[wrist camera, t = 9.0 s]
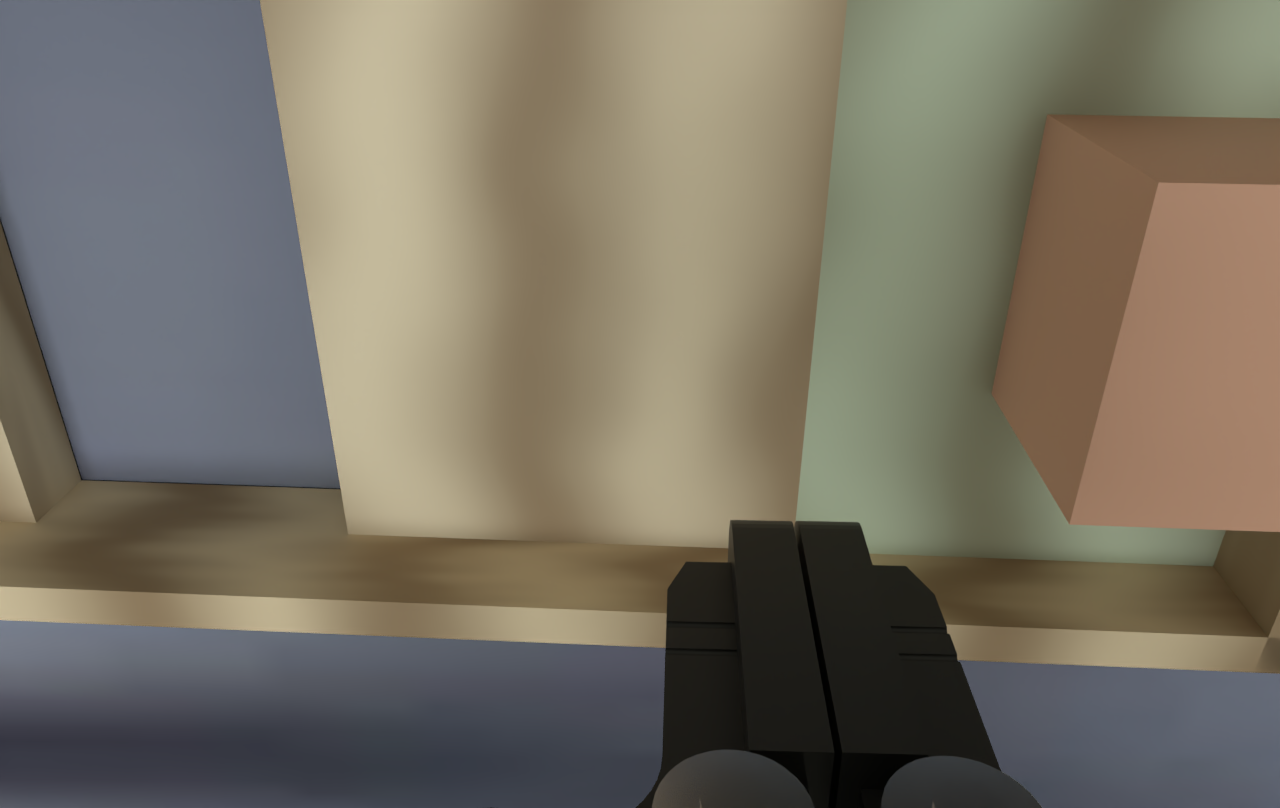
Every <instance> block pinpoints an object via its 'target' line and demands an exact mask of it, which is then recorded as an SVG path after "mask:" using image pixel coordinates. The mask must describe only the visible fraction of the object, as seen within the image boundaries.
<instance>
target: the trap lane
mask: <svg viewBox="0 0 1280 808" xmlns="http://www.w3.org/2000/svg"><path fill="white" fill-rule="evenodd" d="M260 4H261V10H262V16H263V22H264V28H265V34H266V40H267V46H268V52H269V58H270V64H271V71H272V77H273V83H274V89H275V95H276V101H277V107H278V113H279V119H280V125H281V131H282V137H283V143H284V149H285V155H286V161H287V167H288V173H289V179H290V185H291V192H292V198H293V204H294V210H295V216H296V222H297V228H298V234H299V240H300V246H301V252H302V258H303V264H304V270H305V276H306V282H307V288H308V294H309V300H310V306H311V313H312V319H313V325H314V331H315V337H316V343H317V349H318V355H319V361H320V367H321V373H322V379H323V385H324V391H325V397H326V403H327V409H328V415H329V421H330V427H331V434H332V440H333V446H334V452H335V458H336V464H337V470H338V476H339V482H340V488H341V489H316V488H288V487H259V486H231V485H202V484H174V483H145V482H117V481H88V480H81V478H80V475H79V471H78V468H77V465H76V462H75V459H74V455H73V452H72V449H71V446H70V443H69V440H68V436H67V433H66V430H65V427H64V424H63V420H62V417H61V414H60V411H59V408H58V404H57V401H56V398H55V395H54V392H53V388H52V385H51V382H50V379H49V376H48V373H47V369H46V366H45V363H44V360H43V357H42V353H41V350H40V347H39V344H38V341H37V337H36V334H35V331H34V328H33V325H32V322H31V318H30V315H29V312H28V309H27V306H26V302H25V299H24V296H23V293H22V290H21V286H20V283H19V280H18V277H17V274H16V270H15V267H14V264H13V261H12V258H11V255H10V251H9V248H8V245H7V242H6V239H5V235H4V232H3V229H2V226H1V223H0V620H13V621H37V622H61V623H85V624H109V625H133V626H157V627H181V628H204V629H228V630H252V631H276V632H300V633H324V634H348V635H372V636H396V637H419V638H443V639H467V640H491V641H515V642H539V643H563V644H587V645H611V646H634V647H658V648H666V618H667V589H668V587H669V586H670V584H671V583H672V581H673V580H674V578H675V577H676V575H677V574H678V573H679V571H680V570H681V568H682V567H683V565H684V564H685V562H728V543H729V526H730V520H765V521H792V522H793V526H794V525H795V522H796V521H830V522H859V523H860V525H861V527H862V530H863V534H864V537H865V541H866V544H867V547H868V551H869V554H870V558H871V561H872V564H873V565H889V566H907V567H908V568H909V569H910V570H911V571H912V572H913V573H914V574H915V575H916V576H917V577H918V578H919V579H920V580H921V581H922V582H923V583H924V584H925V585H926V586H927V587H928V588H929V589H930V590H931V591H932V592H933V593H934V594H935V596H936V599H937V602H938V604H939V607H940V610H941V612H942V615H943V618H944V620H945V623H946V626H947V634H950V636H951V639H952V642H953V644H954V647H955V650H956V652H957V660H969V661H993V662H1017V663H1041V664H1065V665H1088V666H1112V667H1136V668H1160V669H1184V670H1208V671H1232V672H1256V673H1280V532H1263V531H1235V530H1207V529H1179V528H1151V527H1122V526H1094V525H1069V523H1068V521H1067V520H1066V518H1065V516H1064V515H1063V513H1062V511H1061V510H1060V508H1059V506H1058V505H1057V503H1056V501H1055V500H1054V498H1053V496H1052V495H1051V493H1050V491H1049V490H1048V488H1047V486H1046V484H1045V483H1044V481H1043V479H1042V478H1041V476H1040V474H1039V473H1038V471H1037V469H1036V468H1035V466H1034V464H1033V463H1032V461H1031V459H1030V458H1029V456H1028V454H1027V453H1026V451H1025V449H1024V448H1023V446H1022V444H1021V443H1020V441H1019V439H1018V437H1017V436H1016V434H1015V432H1014V431H1013V429H1012V427H1011V426H1010V424H1009V422H1008V421H1007V419H1006V417H1005V416H1004V414H1003V412H1002V411H1001V409H1000V407H999V406H998V404H997V402H996V401H995V399H994V397H993V396H992V389H993V384H994V379H995V374H996V369H997V364H998V359H999V354H1000V349H1001V344H1002V339H1003V334H1004V329H1005V324H1006V319H1007V314H1008V309H1009V304H1010V299H1011V294H1012V289H1013V284H1014V279H1015V273H1016V268H1017V263H1018V258H1019V253H1020V248H1021V243H1022V238H1023V233H1024V228H1025V223H1026V218H1027V213H1028V208H1029V203H1030V198H1031V193H1032V188H1033V183H1034V178H1035V173H1036V168H1037V163H1038V158H1039V153H1040V148H1041V143H1042V138H1043V133H1044V128H1045V123H1046V118H1047V114H1052V115H1112V116H1171V117H1231V118H1280V0H260Z"/></svg>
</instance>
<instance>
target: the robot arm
mask: <svg viewBox="0 0 1280 808" xmlns="http://www.w3.org/2000/svg"><path fill="white" fill-rule="evenodd" d="M636 808H1042V807H1041V805H1040V804H1039V803H1038V802H1037V800H1036V799H1035V798H1034V797H1033V796H1032V794H1031V793H1030V792H1028V791H1027V790H1026V789H1025V788H1024V787H1023V786H1022V785H1021V784H1020V783H1018V782H1017V781H1015V780H1014V779H1013V778H1011V777H1010V776H1008V775H1007V774H1005V773H1003V772H1002V771H1001V769H1000V767H999V765H998V762H997V759H996V757H995V754H994V751H993V749H992V746H991V743H990V741H989V738H988V735H987V732H986V730H985V727H984V724H983V722H982V719H981V716H980V714H979V711H978V708H977V706H976V703H975V700H974V698H973V695H972V692H971V690H970V687H969V684H968V682H967V679H966V676H965V674H964V671H963V668H962V666H961V663H960V662H958V661H957V652H956V650H955V647H954V644H953V642H952V639H951V636H950V634H947V626H946V623H945V620H944V618H943V615H942V612H941V610H940V607H939V604H938V602H937V599H936V596H935V594H934V593H933V592H932V591H931V590H930V589H929V588H928V587H927V586H926V585H925V584H924V583H923V582H922V581H921V580H920V579H919V578H918V577H917V576H916V575H915V574H914V573H913V572H912V571H911V570H910V569H909V568H908V567H907V566H889V565H873V564H872V561H871V558H870V554H869V551H868V547H867V544H866V541H865V537H864V534H863V530H862V527H861V525H860V523H859V522H830V521H796V522H795V525H794V526H793V522H792V521H765V520H730V526H729V543H728V562H685V564H684V565H683V567H682V568H681V570H680V571H679V573H678V574H677V575H676V577H675V578H674V580H673V581H672V583H671V584H670V586H669V587H668V589H667V618H666V655H665V688H664V723H663V757H662V765H661V770H660V773H659V776H658V779H657V781H656V783H655V785H654V787H653V788H652V790H651V792H650V793H649V794H648V795H647V797H646V798H645V799H644V800H643V801H642V802H641V803H640V804H639V805H638V806H637V807H636Z"/></svg>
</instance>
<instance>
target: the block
mask: <svg viewBox="0 0 1280 808" xmlns="http://www.w3.org/2000/svg"><path fill="white" fill-rule="evenodd" d="M992 396H993V397H994V399H995V401H996V402H997V404H998V406H999V407H1000V409H1001V411H1002V412H1003V414H1004V416H1005V417H1006V419H1007V421H1008V422H1009V424H1010V426H1011V427H1012V429H1013V431H1014V432H1015V434H1016V436H1017V437H1018V439H1019V441H1020V443H1021V444H1022V446H1023V448H1024V449H1025V451H1026V453H1027V454H1028V456H1029V458H1030V459H1031V461H1032V463H1033V464H1034V466H1035V468H1036V469H1037V471H1038V473H1039V474H1040V476H1041V478H1042V479H1043V481H1044V483H1045V484H1046V486H1047V488H1048V490H1049V491H1050V493H1051V495H1052V496H1053V498H1054V500H1055V501H1056V503H1057V505H1058V506H1059V508H1060V510H1061V511H1062V513H1063V515H1064V516H1065V518H1066V520H1067V521H1068V523H1069V525H1094V526H1122V527H1151V528H1179V529H1207V530H1235V531H1263V532H1280V118H1231V117H1171V116H1112V115H1052V114H1047V118H1046V123H1045V128H1044V133H1043V138H1042V143H1041V148H1040V153H1039V158H1038V163H1037V168H1036V173H1035V178H1034V183H1033V188H1032V193H1031V198H1030V203H1029V208H1028V213H1027V218H1026V223H1025V228H1024V233H1023V238H1022V243H1021V248H1020V253H1019V258H1018V263H1017V268H1016V273H1015V279H1014V284H1013V289H1012V294H1011V299H1010V304H1009V309H1008V314H1007V319H1006V324H1005V329H1004V334H1003V339H1002V344H1001V349H1000V354H999V359H998V364H997V369H996V374H995V379H994V384H993V389H992Z"/></svg>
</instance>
